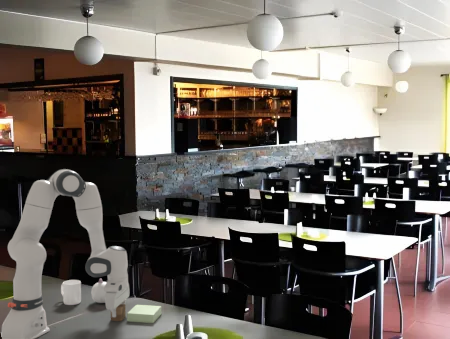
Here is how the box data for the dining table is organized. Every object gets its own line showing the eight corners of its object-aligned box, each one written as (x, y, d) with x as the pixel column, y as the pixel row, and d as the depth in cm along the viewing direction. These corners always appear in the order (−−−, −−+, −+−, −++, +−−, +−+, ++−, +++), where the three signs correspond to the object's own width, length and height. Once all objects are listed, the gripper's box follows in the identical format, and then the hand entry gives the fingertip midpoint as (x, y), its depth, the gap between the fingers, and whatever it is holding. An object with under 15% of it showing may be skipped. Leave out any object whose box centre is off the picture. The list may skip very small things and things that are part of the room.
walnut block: (121, 321, 244) (121, 307, 244) (110, 320, 245) (110, 307, 245) (125, 317, 249) (125, 304, 249) (115, 316, 250) (114, 303, 250)
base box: (153, 323, 242) (153, 314, 242) (127, 322, 244) (127, 313, 244) (161, 314, 254) (161, 306, 254) (136, 313, 256) (136, 304, 256)
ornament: (91, 306, 263) (91, 282, 262) (91, 300, 273) (90, 276, 272) (113, 305, 266) (113, 280, 265) (112, 298, 276) (111, 274, 275)
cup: (71, 306, 264) (70, 285, 263) (54, 301, 271) (54, 281, 270) (84, 301, 271) (84, 281, 270) (68, 297, 277) (67, 277, 277)
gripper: (119, 276, 257) (120, 305, 258) (102, 289, 237) (102, 320, 238) (132, 276, 256) (133, 306, 257) (116, 289, 236) (116, 321, 237)
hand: (118, 313), depth 247 cm, fingers open, 8 cm apart
